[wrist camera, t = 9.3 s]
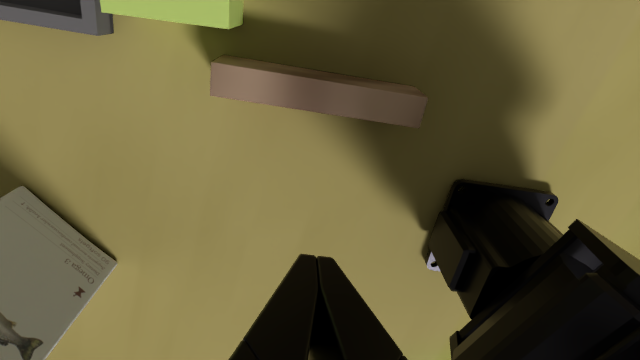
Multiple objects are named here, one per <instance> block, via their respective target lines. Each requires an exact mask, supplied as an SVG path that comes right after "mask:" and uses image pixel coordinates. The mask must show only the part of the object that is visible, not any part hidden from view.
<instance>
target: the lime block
mask: <svg viewBox="0 0 640 360" xmlns="http://www.w3.org/2000/svg"><path fill="white" fill-rule="evenodd" d="M100 5H101V12H103V13H111V14H118V15H126V16H133V17H141V18H148V19H156V20H163V21H171V22H178V23H186V24H193V25H200V26H208V27H215V28H223V29H231V28H234V27H237V26H240V25H243V0H100Z"/></svg>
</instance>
